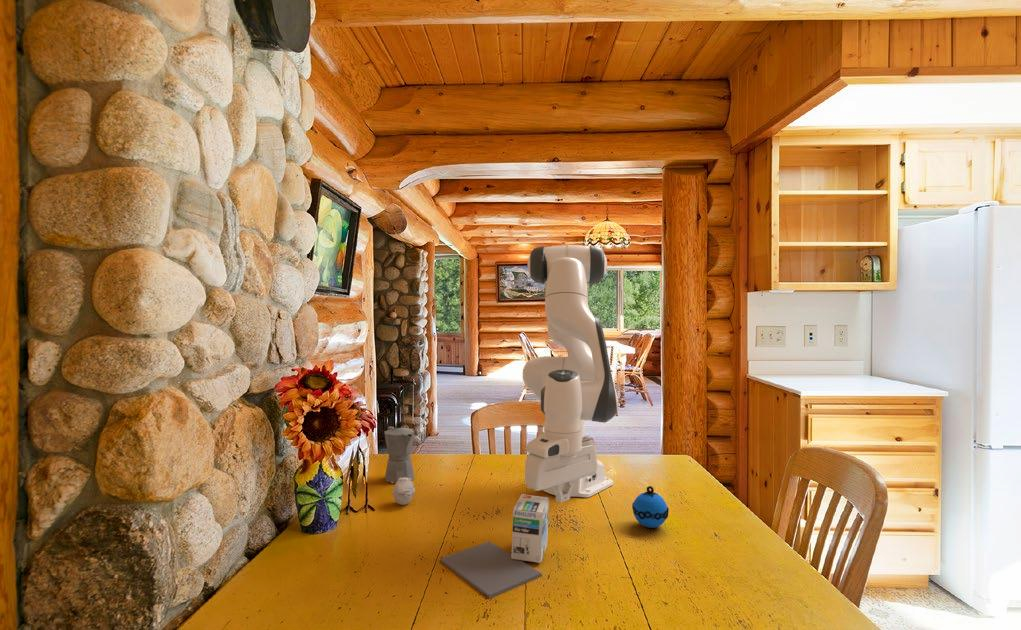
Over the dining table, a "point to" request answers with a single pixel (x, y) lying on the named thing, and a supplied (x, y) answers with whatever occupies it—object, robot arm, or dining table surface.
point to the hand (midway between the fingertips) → (562, 500)
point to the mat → (490, 569)
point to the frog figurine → (403, 490)
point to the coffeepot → (398, 452)
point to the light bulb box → (530, 528)
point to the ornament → (650, 509)
